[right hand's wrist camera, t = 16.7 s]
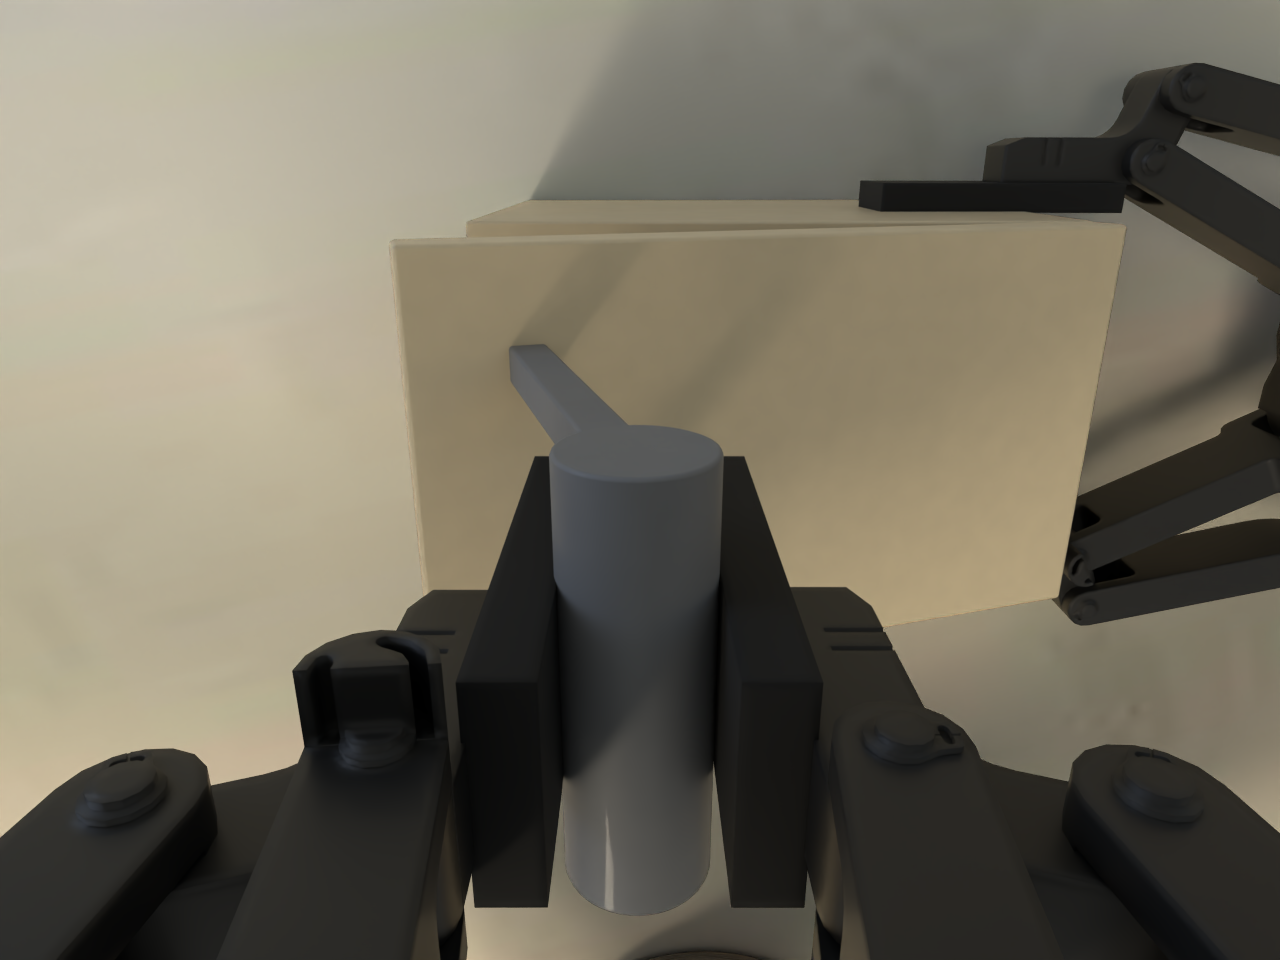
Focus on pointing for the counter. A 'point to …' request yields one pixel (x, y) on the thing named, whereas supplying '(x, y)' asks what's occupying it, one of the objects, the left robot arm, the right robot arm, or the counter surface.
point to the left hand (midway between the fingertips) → (855, 366)
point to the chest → (714, 217)
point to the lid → (740, 426)
